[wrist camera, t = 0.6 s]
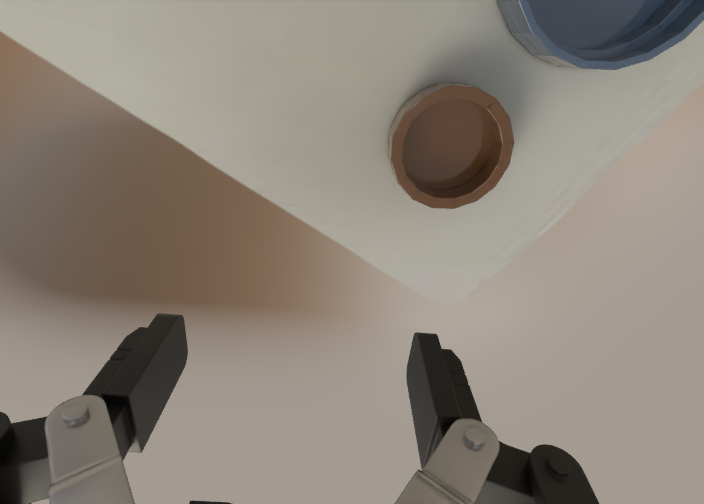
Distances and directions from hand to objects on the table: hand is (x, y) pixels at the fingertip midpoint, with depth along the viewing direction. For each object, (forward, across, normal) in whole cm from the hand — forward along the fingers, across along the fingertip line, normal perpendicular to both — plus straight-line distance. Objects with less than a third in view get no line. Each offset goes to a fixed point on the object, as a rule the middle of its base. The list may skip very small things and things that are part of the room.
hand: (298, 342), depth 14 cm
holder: (+27, -10, -2) cm, 29 cm away
